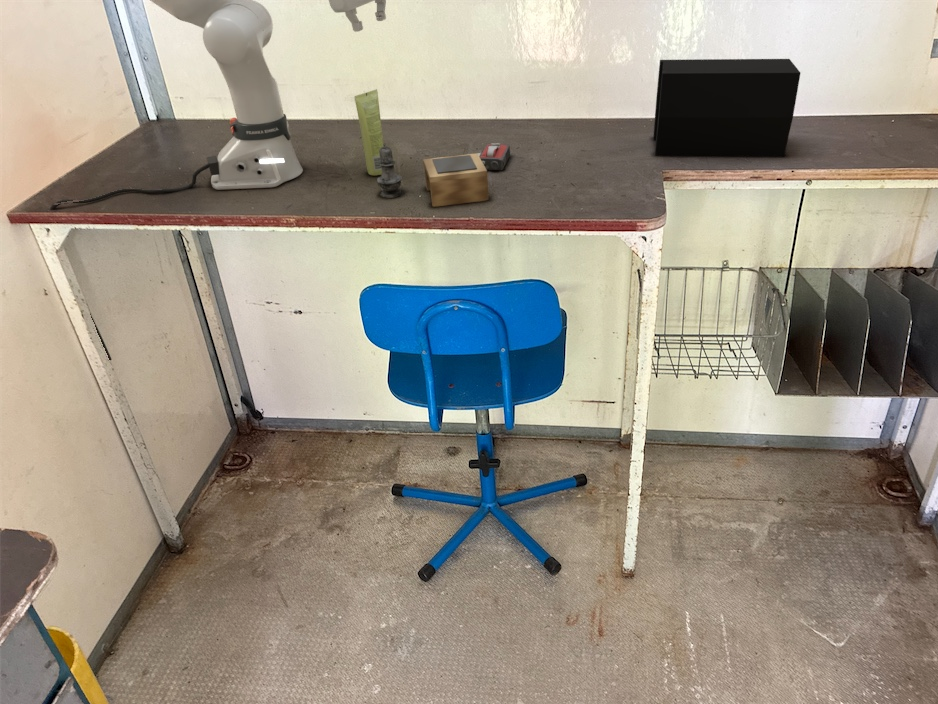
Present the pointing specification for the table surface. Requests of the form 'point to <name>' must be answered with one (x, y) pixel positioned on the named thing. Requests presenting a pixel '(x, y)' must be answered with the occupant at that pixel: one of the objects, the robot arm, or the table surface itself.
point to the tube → (370, 129)
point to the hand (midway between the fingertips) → (370, 25)
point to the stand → (456, 179)
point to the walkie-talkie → (495, 156)
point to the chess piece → (388, 174)
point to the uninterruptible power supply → (725, 107)
